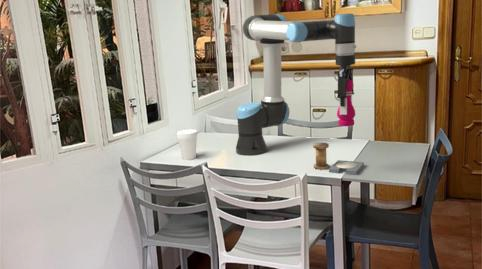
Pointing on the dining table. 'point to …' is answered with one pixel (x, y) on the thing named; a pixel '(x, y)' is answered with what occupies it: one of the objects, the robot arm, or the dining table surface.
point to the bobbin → (321, 156)
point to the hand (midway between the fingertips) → (346, 112)
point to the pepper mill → (347, 119)
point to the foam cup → (187, 143)
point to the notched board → (346, 167)
